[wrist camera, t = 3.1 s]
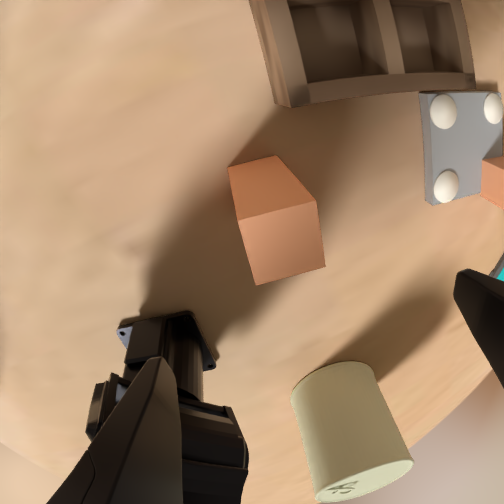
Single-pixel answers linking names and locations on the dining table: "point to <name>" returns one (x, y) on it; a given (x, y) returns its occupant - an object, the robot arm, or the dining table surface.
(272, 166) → the peg
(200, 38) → the dining table surface
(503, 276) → the smartphone
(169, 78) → the dining table surface
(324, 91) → the socket block
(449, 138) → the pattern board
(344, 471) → the can
